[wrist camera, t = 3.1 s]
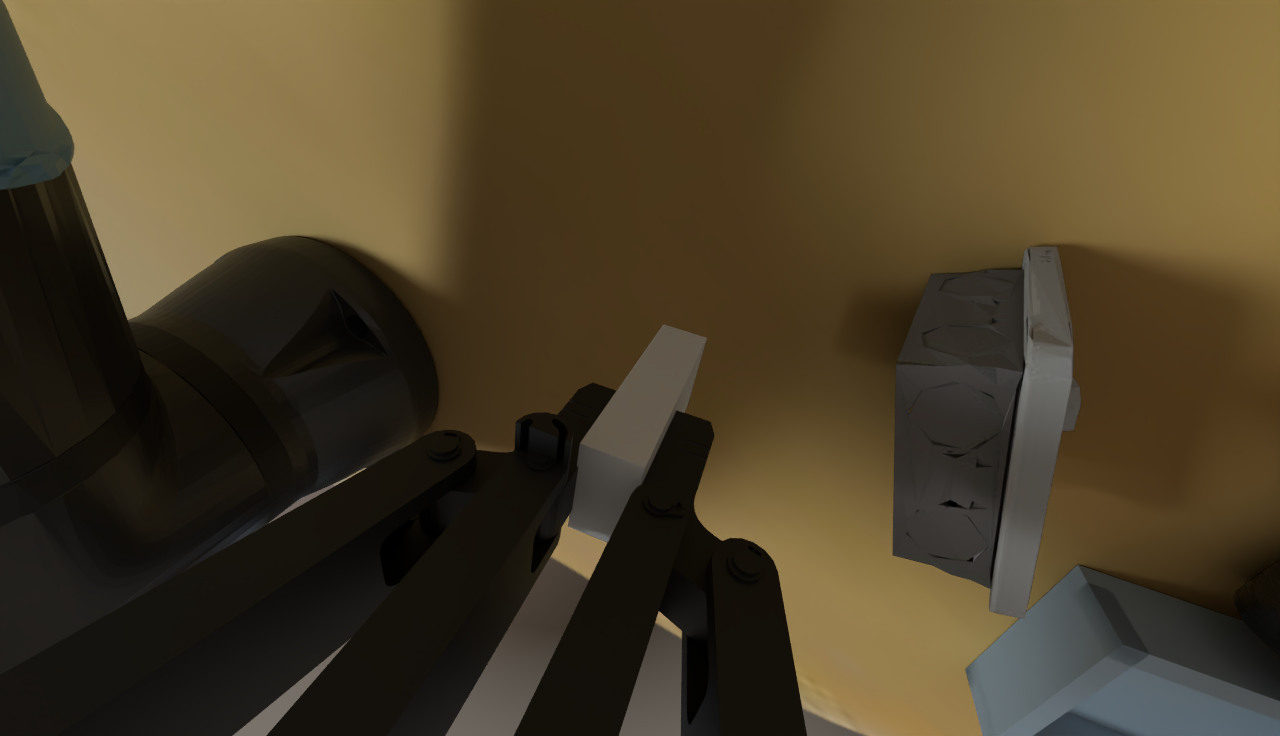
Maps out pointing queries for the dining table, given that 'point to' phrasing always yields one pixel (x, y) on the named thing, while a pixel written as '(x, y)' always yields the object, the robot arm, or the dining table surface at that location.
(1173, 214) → the dining table surface
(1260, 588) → the trolley
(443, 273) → the dining table surface
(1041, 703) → the tray
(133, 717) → the robot arm
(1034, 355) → the electrical switch
